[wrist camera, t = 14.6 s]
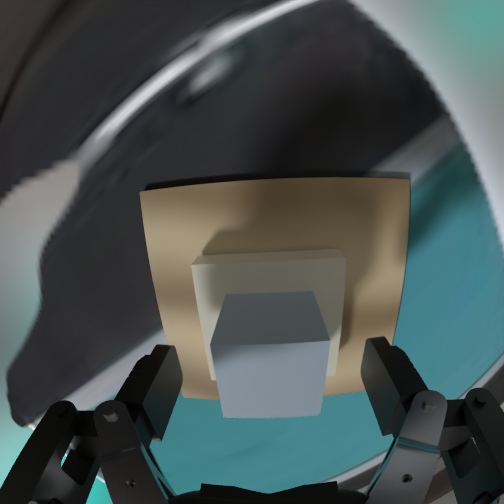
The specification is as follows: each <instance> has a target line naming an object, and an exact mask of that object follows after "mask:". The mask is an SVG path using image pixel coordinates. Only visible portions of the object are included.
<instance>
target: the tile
mask: <svg viewBox="0 0 504 504" xmlns="http://www.w3.org/2000/svg"><path fill="white" fill-rule="evenodd" d="M191 268H192V275H193V282H194V288H195V295H196V301H197V307H198V313H199V319H200V325H201V330H202V336H203V341H204V346H205V351H206V357H207V362H208V366H209V371H210V376H211V380H216V376H215V371H214V365H213V360H212V354H211V348H210V342H211V339H212V336H213V333H214V330H215V327H216V323H217V320H218V317H219V314H220V311H221V308H222V305H223V302H224V299H225V295H226V294H251V293H279V292H301V291H313V293H314V295H315V298H316V301H317V304H318V306H319V309H320V312H321V315H322V318H323V320H324V323H325V326H326V329H327V332H328V335H329V338H330V349H329V357H328V365H327V373H326V376H335V372H336V366H337V359H338V351H339V343H340V335H341V326H342V316H343V305H344V292H345V277H346V256H345V255H344V254H343V253H342V252H341V251H340V250H339V249H326V250H306V251H285V252H264V253H243V254H222V255H201V256H198V257H197V258H196V259H195V260H194V262H193V263H192V264H191Z"/></svg>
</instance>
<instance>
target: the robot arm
mask: <svg viewBox="0 0 504 504" xmlns="http://www.w3.org/2000/svg"><path fill="white" fill-rule="evenodd" d="M132 370H133V371H131V372H130V374H129V377H127V379H126V381H125V382H124V384H123V386H122V387H121V389H120V390H119V392H118V394H117V395H116V397H115V399H114V400H109V401H105V402H103V403H101V404H100V405H98V406H97V407H96V409H95V410H94V411H78V410H77V409H76V407H75V406H74V404H73V403H72V402H70V401H65V400H63V401H58V402H56V403H54V404H52V405H51V406H50V407H49V409H48V410H47V412H46V413H45V415H44V416H43V418H42V419H41V421H40V422H39V424H38V425H37V427H36V428H35V430H34V432H33V433H32V435H31V436H30V438H29V439H28V441H27V443H26V444H25V446H24V448H23V449H22V451H21V453H20V454H19V456H18V458H17V459H16V461H15V463H14V465H13V466H12V468H11V470H10V472H9V473H8V476H7V477H6V479H5V481H4V483H3V485H2V487H1V489H0V504H86V501H87V498H88V496H89V493H90V491H91V488H92V485H93V483H94V480H95V478H96V475H97V473H98V470H99V468H100V467H101V470H102V473H103V477H104V480H105V483H106V485H107V489H108V492H109V494H110V497H111V500H112V502H113V504H422V502H423V500H424V498H425V495H426V493H427V490H428V488H429V485H430V483H431V480H432V477H433V474H434V472H435V469H436V466H437V462H438V459H439V456H440V453H441V455H442V458H443V461H444V463H445V466H446V469H447V472H448V475H449V478H450V481H451V484H452V487H453V490H454V493H455V496H456V500H457V503H458V504H504V412H503V410H502V409H501V407H500V405H499V404H498V402H497V401H496V399H495V398H494V396H493V395H492V394H491V393H490V392H489V391H488V390H486V389H483V388H474V389H471V390H470V391H469V392H468V393H467V395H466V397H465V398H464V399H457V400H446V398H445V397H444V396H443V395H442V394H441V393H439V392H437V391H433V390H428V388H427V386H426V385H425V383H424V381H423V380H422V378H421V377H420V375H419V373H418V372H417V370H416V369H415V368H414V366H413V364H412V362H411V361H410V359H409V358H408V356H407V355H406V353H405V352H404V351H403V350H401V349H400V348H399V347H397V346H391V345H390V343H389V342H388V340H387V339H386V337H385V336H380V337H373V338H367V339H366V342H365V347H364V353H363V358H362V363H361V379H362V382H363V384H364V387H365V389H366V392H367V394H368V397H369V400H370V402H371V405H372V408H373V410H374V413H375V416H376V419H377V421H378V424H379V427H380V430H381V433H382V435H383V436H385V435H389V434H392V435H393V437H394V439H393V441H392V443H391V445H390V447H389V450H388V452H387V454H386V456H385V458H384V460H383V462H382V464H381V466H380V467H379V469H378V471H377V473H376V475H375V477H374V478H373V480H372V481H371V483H370V485H369V486H368V488H367V489H366V491H365V493H361V492H359V491H355V490H351V489H345V488H338V486H337V481H333V482H326V483H318V484H309V485H302V486H299V487H295V488H292V489H288V490H284V491H280V492H276V493H271V494H266V493H261V492H256V491H251V490H247V489H243V488H239V487H235V486H223V485H212V484H203V483H202V484H201V489H200V490H199V491H192V492H187V493H183V494H180V495H176V493H175V492H174V490H173V489H172V487H171V486H170V484H169V483H168V481H167V479H166V478H165V476H164V474H163V472H162V470H161V468H160V466H159V464H158V462H157V460H156V458H155V456H154V454H153V452H152V450H151V448H150V447H149V446H150V443H151V441H152V440H155V441H160V442H161V441H162V439H163V436H164V433H165V430H166V428H167V425H168V422H169V419H170V417H171V414H172V411H173V408H174V406H175V403H176V400H177V397H178V395H179V392H180V389H181V387H182V383H183V374H182V369H181V366H180V362H179V358H178V355H177V351H176V348H175V346H174V345H159V344H157V345H156V346H155V347H154V349H153V351H152V353H151V354H150V355H145V356H144V357H142V358H141V359H140V360H138V361H137V363H136V364H135V366H134V368H133V369H132ZM472 438H474V440H475V442H476V444H477V446H478V449H479V451H480V454H479V452H478V450H477V448H476V446H475V444H474V441H473V439H472ZM69 446H70V448H71V449H70V451H69V453H68V455H67V457H66V460H65V462H64V463H63V465H62V467H61V461H62V459H63V457H64V455H65V453H66V451H67V449H68V447H69Z"/></svg>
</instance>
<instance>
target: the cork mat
mask: <svg viewBox="0 0 504 504" xmlns="http://www.w3.org/2000/svg"><path fill="white" fill-rule="evenodd" d="M140 198H141V207H142V215H143V223H144V230H145V237H146V243H147V250H148V256H149V262H150V267H151V273H152V278H153V283H154V288H155V293H156V297H157V302H158V307H159V311H160V315H161V320H162V324H163V328H164V332H165V336H166V340H167V343H168V345H174V346H175V348H176V351H177V355H178V358H179V362H180V366H181V369H182V374H183V383H182V387H181V391H182V394H183V397H186V398H199V399H216V400H220V397H219V392H218V387H217V381H216V380H211V376H210V371H209V366H208V362H207V357H206V351H205V346H204V341H203V336H202V330H201V325H200V319H199V313H198V307H197V301H196V295H195V288H194V282H193V275H192V268H191V264H192V263H193V262H194V260H195V259H196V258H197V257H198V256H201V255H222V254H243V253H264V252H285V251H306V250H326V249H339V250H340V251H341V252H342V253H343V254H344V255H345V256H346V277H345V292H344V305H343V316H342V326H341V335H340V343H339V351H338V359H337V366H336V372H335V376H326V380H325V387H324V393H323V396H329V395H338V394H345V393H352V392H358V391H364V390H366V389H365V387H364V384H363V382H362V379H361V363H362V358H363V353H364V347H365V342H366V339H367V338H373V337H380V336H385V337H386V339H387V340H388V342H389V343H390V345H392V341H393V336H394V332H395V327H396V322H397V317H398V312H399V306H400V300H401V294H402V288H403V281H404V273H405V265H406V255H407V244H408V230H409V208H410V179H394V178H362V177H313V178H280V179H260V180H244V181H230V182H218V183H207V184H197V185H188V186H179V187H170V188H162V189H155V190H148V191H141V192H140Z"/></svg>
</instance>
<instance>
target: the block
mask: <svg viewBox="0 0 504 504" xmlns="http://www.w3.org/2000/svg"><path fill="white" fill-rule="evenodd" d="M210 348H211V354H212V360H213V365H214V371H215V376H216V381H217V387H218V392H219V397H220V401H221V406H222V411H223V416H224V417H226V418H283V417H300V416H312V415H320V411H321V405H322V399H323V393H324V387H325V380H326V373H327V365H328V357H329V349H330V338H329V335H328V332H327V329H326V326H325V323H324V320H323V318H322V315H321V312H320V309H319V306H318V304H317V301H316V298H315V295H314V293H313V291H301V292H279V293H251V294H226V295H225V299H224V302H223V305H222V308H221V311H220V314H219V317H218V320H217V323H216V327H215V330H214V333H213V336H212V339H211V342H210Z"/></svg>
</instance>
